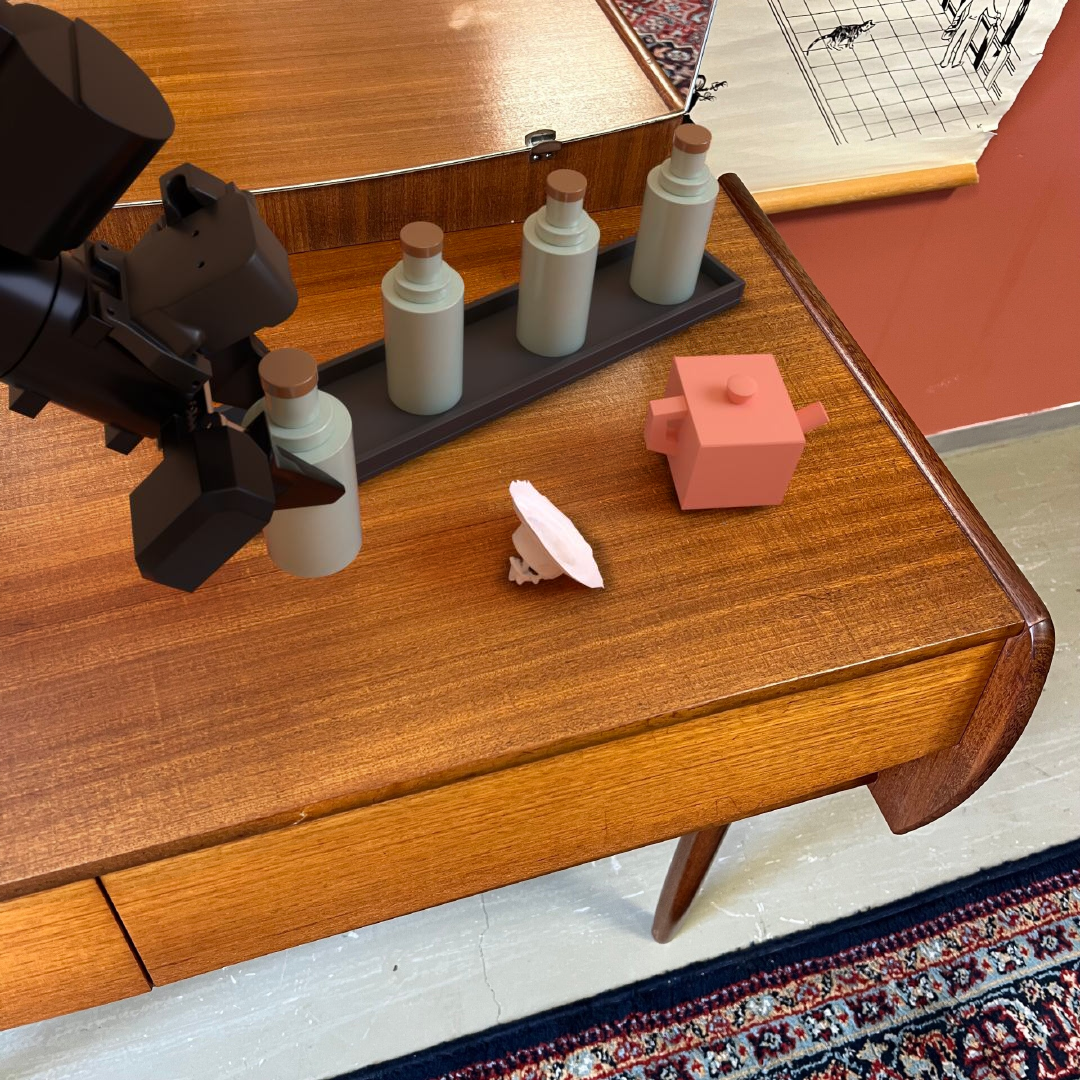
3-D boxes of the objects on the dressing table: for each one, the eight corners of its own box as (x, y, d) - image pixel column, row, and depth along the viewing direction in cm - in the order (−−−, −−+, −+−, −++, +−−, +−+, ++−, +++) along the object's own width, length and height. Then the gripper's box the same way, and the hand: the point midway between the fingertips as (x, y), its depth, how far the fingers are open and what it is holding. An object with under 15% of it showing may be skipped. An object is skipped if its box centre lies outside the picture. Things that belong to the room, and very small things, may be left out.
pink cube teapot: (823, 511, 67) (864, 425, 61) (647, 521, 66) (669, 433, 59) (790, 426, 72) (825, 337, 65) (625, 433, 70) (644, 343, 64)
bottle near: (385, 414, 69) (374, 259, 59) (390, 362, 72) (380, 206, 62) (461, 417, 69) (464, 263, 59) (463, 364, 72) (466, 210, 62)
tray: (255, 534, 63) (250, 513, 61) (190, 442, 67) (183, 420, 65) (740, 303, 80) (746, 281, 78) (664, 241, 84) (669, 219, 82)
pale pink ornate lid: (522, 590, 66) (470, 484, 63) (597, 558, 66) (548, 450, 63) (530, 646, 59) (472, 529, 56) (614, 610, 58) (559, 490, 55)
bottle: (267, 583, 54) (227, 412, 43) (265, 507, 57) (227, 331, 47) (366, 573, 54) (349, 403, 44) (359, 499, 58) (342, 324, 47)
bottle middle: (516, 356, 73) (527, 202, 63) (515, 309, 76) (525, 155, 66) (587, 358, 74) (610, 206, 64) (583, 311, 77) (604, 159, 67)
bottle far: (632, 304, 78) (659, 152, 68) (626, 261, 81) (652, 110, 71) (698, 306, 78) (736, 156, 68) (690, 264, 81) (725, 114, 71)
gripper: (164, 336, 31) (495, 501, 42) (123, 36, 41) (397, 233, 53) (-24, 541, 35) (323, 641, 47) (-17, 222, 46) (264, 367, 57)
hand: (329, 454), depth 51 cm, fingers closed on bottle, 5 cm apart
